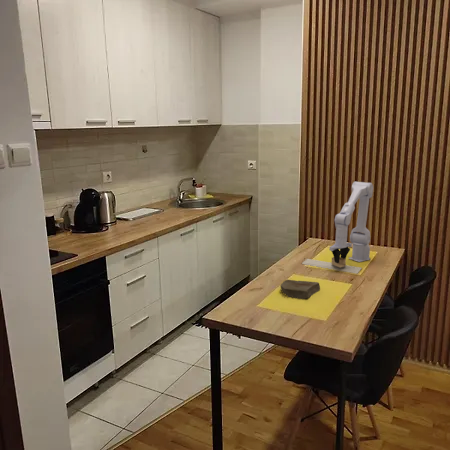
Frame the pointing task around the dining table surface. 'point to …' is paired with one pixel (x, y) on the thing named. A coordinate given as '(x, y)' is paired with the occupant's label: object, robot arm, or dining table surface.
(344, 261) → the block
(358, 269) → the baseboard
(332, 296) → the dining table surface
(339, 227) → the robot arm
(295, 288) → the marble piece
